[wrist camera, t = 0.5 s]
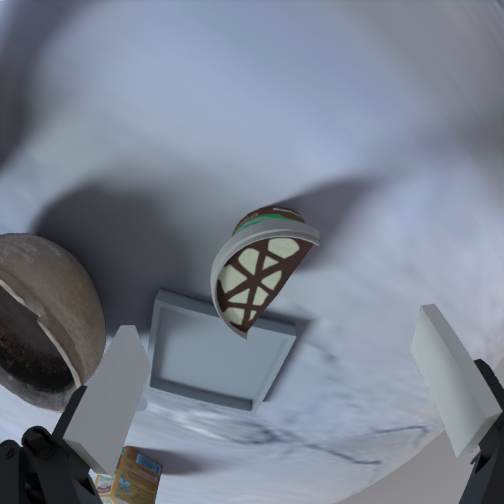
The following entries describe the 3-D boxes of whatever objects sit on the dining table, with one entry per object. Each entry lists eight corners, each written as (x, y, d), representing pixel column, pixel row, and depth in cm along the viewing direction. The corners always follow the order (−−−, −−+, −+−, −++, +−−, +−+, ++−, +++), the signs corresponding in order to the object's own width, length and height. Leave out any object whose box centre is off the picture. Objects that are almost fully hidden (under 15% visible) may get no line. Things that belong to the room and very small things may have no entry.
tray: (148, 376, 46) (144, 388, 43) (160, 288, 38) (154, 299, 36) (255, 403, 47) (254, 414, 45) (294, 324, 40) (296, 336, 38)
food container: (256, 172, 32) (255, 198, 23) (306, 202, 33) (323, 239, 24) (201, 263, 37) (183, 315, 28) (247, 287, 38) (243, 344, 29)
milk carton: (137, 470, 64) (123, 529, 47) (105, 451, 60) (85, 512, 43) (162, 465, 61) (149, 531, 44) (128, 445, 57) (108, 514, 40)
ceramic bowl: (145, 255, 36) (92, 335, 23) (113, 363, 45) (79, 437, 31) (10, 187, 33) (-68, 229, 19) (5, 303, 41) (-43, 357, 28)
